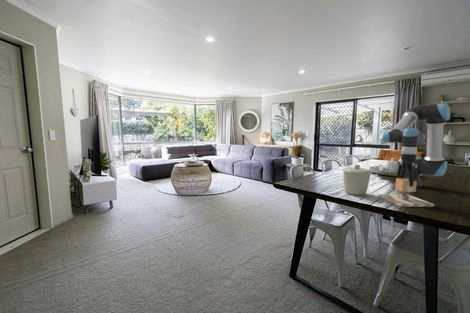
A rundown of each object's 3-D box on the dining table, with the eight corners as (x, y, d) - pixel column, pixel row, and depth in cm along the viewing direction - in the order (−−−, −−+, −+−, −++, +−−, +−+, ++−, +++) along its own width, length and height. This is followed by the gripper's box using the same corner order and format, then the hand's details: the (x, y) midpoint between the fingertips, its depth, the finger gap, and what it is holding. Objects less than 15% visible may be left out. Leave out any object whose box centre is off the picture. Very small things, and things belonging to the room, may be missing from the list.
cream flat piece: (407, 196, 150) (408, 188, 149) (434, 206, 130) (435, 196, 129) (378, 196, 150) (379, 187, 149) (400, 206, 130) (400, 196, 129)
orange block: (408, 189, 142) (409, 178, 141) (415, 191, 136) (416, 180, 135) (395, 189, 142) (396, 178, 141) (402, 191, 136) (403, 180, 135)
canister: (376, 197, 148) (378, 166, 146) (349, 197, 148) (351, 166, 145) (360, 190, 166) (362, 162, 164) (336, 190, 166) (338, 162, 163)
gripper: (391, 152, 146) (388, 186, 148) (415, 155, 127) (411, 194, 130) (403, 152, 146) (400, 186, 148) (428, 155, 127) (423, 194, 129)
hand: (405, 189), depth 139 cm, fingers closed on orange block, 6 cm apart
